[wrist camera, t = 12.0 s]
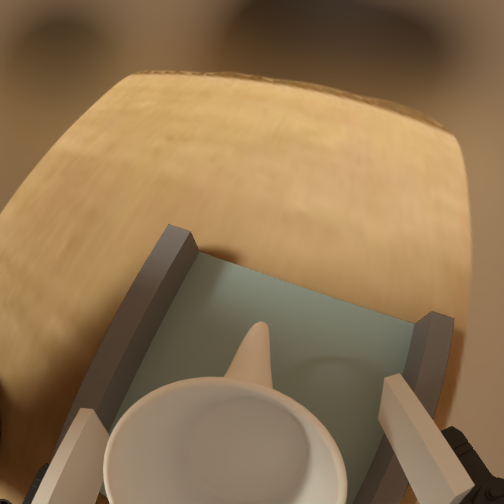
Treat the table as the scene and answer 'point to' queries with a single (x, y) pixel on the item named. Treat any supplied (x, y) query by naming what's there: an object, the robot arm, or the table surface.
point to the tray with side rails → (281, 353)
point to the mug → (224, 442)
